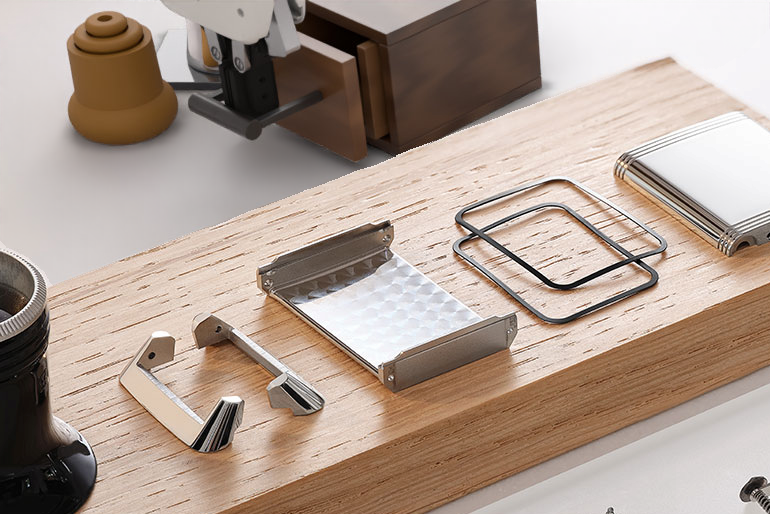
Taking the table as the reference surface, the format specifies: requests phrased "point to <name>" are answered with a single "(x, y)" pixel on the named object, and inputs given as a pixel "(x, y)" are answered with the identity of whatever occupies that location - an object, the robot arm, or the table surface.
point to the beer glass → (199, 49)
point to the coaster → (182, 65)
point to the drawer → (318, 92)
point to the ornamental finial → (117, 82)
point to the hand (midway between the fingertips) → (253, 114)
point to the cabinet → (443, 60)
